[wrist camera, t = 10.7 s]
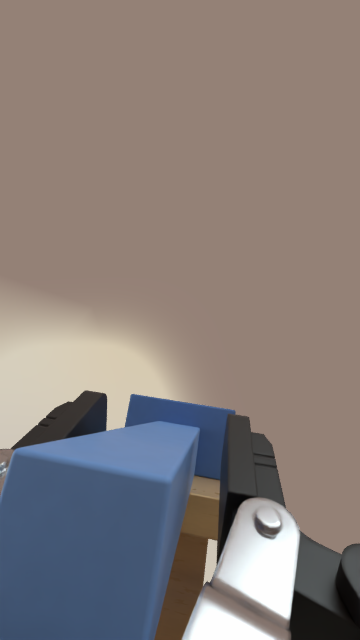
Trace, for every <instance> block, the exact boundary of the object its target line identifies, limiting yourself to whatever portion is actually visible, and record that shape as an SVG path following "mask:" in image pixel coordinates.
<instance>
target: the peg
mask: <svg viewBox="0 0 360 640" xmlns="http://www.w3.org/2000/svg"><path fill="white" fill-rule="evenodd" d="M228 414H235V410H230V409H224V408H217V407H211V406H205V405H198V404H192V403H186V402H180V401H173V400H167V399H160V398H154V397H148V396H141V395H135V394H132V395H131V397H130V402H129V408H128V413H127V418H126V423H125V428H120V429H114V430H109V431H104V432H99V433H94V434H89V435H83V436H78V437H73V438H68V439H63V440H57V441H52V442H47V443H42V444H37V445H31V446H26V447H21V448H17V449H16V450H14V452H13V454H12V457H11V460H10V464H9V467H8V471H7V474H6V478H5V481H4V485H3V488H2V492H1V495H0V640H154V639H155V635H156V630H157V626H158V622H159V618H160V614H161V610H162V606H163V602H164V597H165V593H166V589H167V585H168V581H169V577H170V573H171V569H172V564H173V560H174V556H175V552H176V548H177V544H178V540H179V536H180V531H181V527H182V523H183V519H184V515H185V511H186V507H187V503H188V498H189V494H190V490H191V486H192V482H193V478H194V475H195V476H200V477H206V478H211V479H216V480H220V469H221V458H222V450H223V443H224V435H225V428H226V421H227V415H228Z"/></svg>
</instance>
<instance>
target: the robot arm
mask: <svg viewBox="0 0 360 640" xmlns="http://www.w3.org/2000/svg"><path fill="white" fill-rule="evenodd" d="M106 422H107V396H106V394H104V393H99V392H92V391H84V392H83V393H82V394H81V395H80V396H79V397H78V398H77V399H76V400H75V401H74V402H67V403H64V404H62V405H60V406H58V407H56V408H55V409H54V410H52V411H51V412H50V413H49V414H48V415H47V416H46V418H44V419H43V420H41V421H40V422H39V424H38V425H36V426H35V427H34V428H33V429H32V430H31V431H29V432H28V433H27V434H26V435H25V436H24V437H23V438H22V439H21V440H20V441H19V442H17V443H16V444H15V445H14V446H13V447H12V448H11V449H0V495H1V492H2V488H3V485H4V481H5V478H6V474H7V471H8V467H9V464H10V460H11V457H12V454H13V452H14V450H16V449H17V448H21V447H26V446H31V445H37V444H42V443H47V442H52V441H57V440H63V439H68V438H73V437H78V436H83V435H89V434H94V433H99V432H104V431H106ZM182 640H360V544H352V545H350V546H347V547H346V548H345V549H344V551H343V552H342V555H341V554H339V553H337V552H335V551H333V550H331V549H329V548H327V547H325V546H323V545H321V544H319V543H317V542H315V541H313V540H312V539H310V538H309V537H307V536H306V535H305V534H303V533H302V532H301V531H300V530H299V526H298V524H297V522H296V520H295V518H294V517H293V516H292V514H291V513H290V512H289V511H288V510H287V509H286V507H285V502H284V497H283V493H282V488H281V483H280V479H279V474H278V470H277V465H276V461H275V456H274V451H273V447H272V444H271V443H270V442H269V441H268V439H267V438H266V437H265V435H264V434H259V433H253V432H251V429H250V420H249V417H247V416H241V415H235V414H228V415H227V421H226V428H225V435H224V443H223V450H222V458H221V469H220V493H219V518H218V543H217V567H216V569H215V572H214V575H213V577H212V580H211V581H210V583H209V582H206V583H205V584H204V586H203V588H202V590H201V592H200V595H199V597H198V600H197V602H196V605H195V607H194V610H193V612H192V615H191V617H190V620H189V622H188V625H187V627H186V630H185V632H184V635H183V637H182Z"/></svg>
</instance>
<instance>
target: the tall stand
mask: <svg viewBox="0 0 360 640" xmlns="http://www.w3.org/2000/svg"><path fill="white" fill-rule="evenodd" d="M219 493H220V480H216V479H211V478H206V477H200V476H195V475H194V478H193V482H192V486H191V490H190V494H189V498H188V503H187V507H186V511H185V515H184V519H183V523H182V527H181V531H180V536H179V540H178V544H177V548H176V552H175V556H174V560H173V564H172V569H171V573H170V577H169V581H168V585H167V589H166V593H165V597H164V602H163V606H162V610H161V614H160V618H159V622H158V626H157V630H156V635H155V639H154V640H182V637H183V635H184V632H185V630H186V627H187V625H188V622H189V620H190V617H191V615H192V612H193V610H194V607H195V605H196V602H197V600H198V597H199V595H200V592H201V590H202V588H203V581H204V572H205V563H206V554H207V545H208V539H212V540H217V541H218V518H219Z"/></svg>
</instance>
